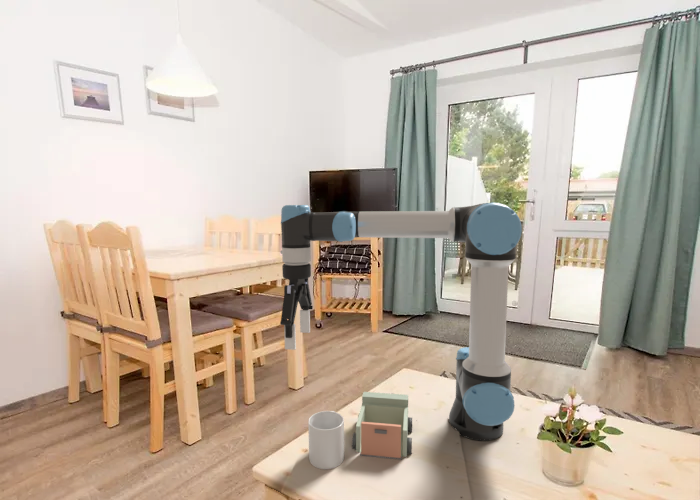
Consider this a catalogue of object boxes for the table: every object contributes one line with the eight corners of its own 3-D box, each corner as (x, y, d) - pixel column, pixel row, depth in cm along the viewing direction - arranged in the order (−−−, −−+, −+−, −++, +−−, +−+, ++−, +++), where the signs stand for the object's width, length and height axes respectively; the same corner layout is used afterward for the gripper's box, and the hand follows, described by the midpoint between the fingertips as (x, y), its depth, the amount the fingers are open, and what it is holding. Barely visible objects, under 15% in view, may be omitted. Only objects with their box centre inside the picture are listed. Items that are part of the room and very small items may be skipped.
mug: (340, 475, 94) (340, 431, 93) (305, 471, 95) (304, 428, 94) (348, 445, 106) (348, 406, 105) (316, 442, 107) (316, 403, 106)
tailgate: (401, 459, 99) (401, 424, 99) (401, 462, 97) (401, 428, 97) (360, 454, 101) (361, 421, 100) (360, 458, 99) (360, 424, 99)
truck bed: (412, 428, 114) (412, 395, 113) (411, 460, 99) (411, 423, 98) (359, 423, 116) (359, 391, 115) (351, 454, 102) (351, 418, 100)
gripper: (297, 256, 117) (298, 325, 119) (265, 270, 93) (268, 356, 95) (321, 257, 116) (322, 326, 118) (295, 270, 91) (297, 358, 94)
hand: (298, 340), depth 107 cm, fingers open, 13 cm apart
